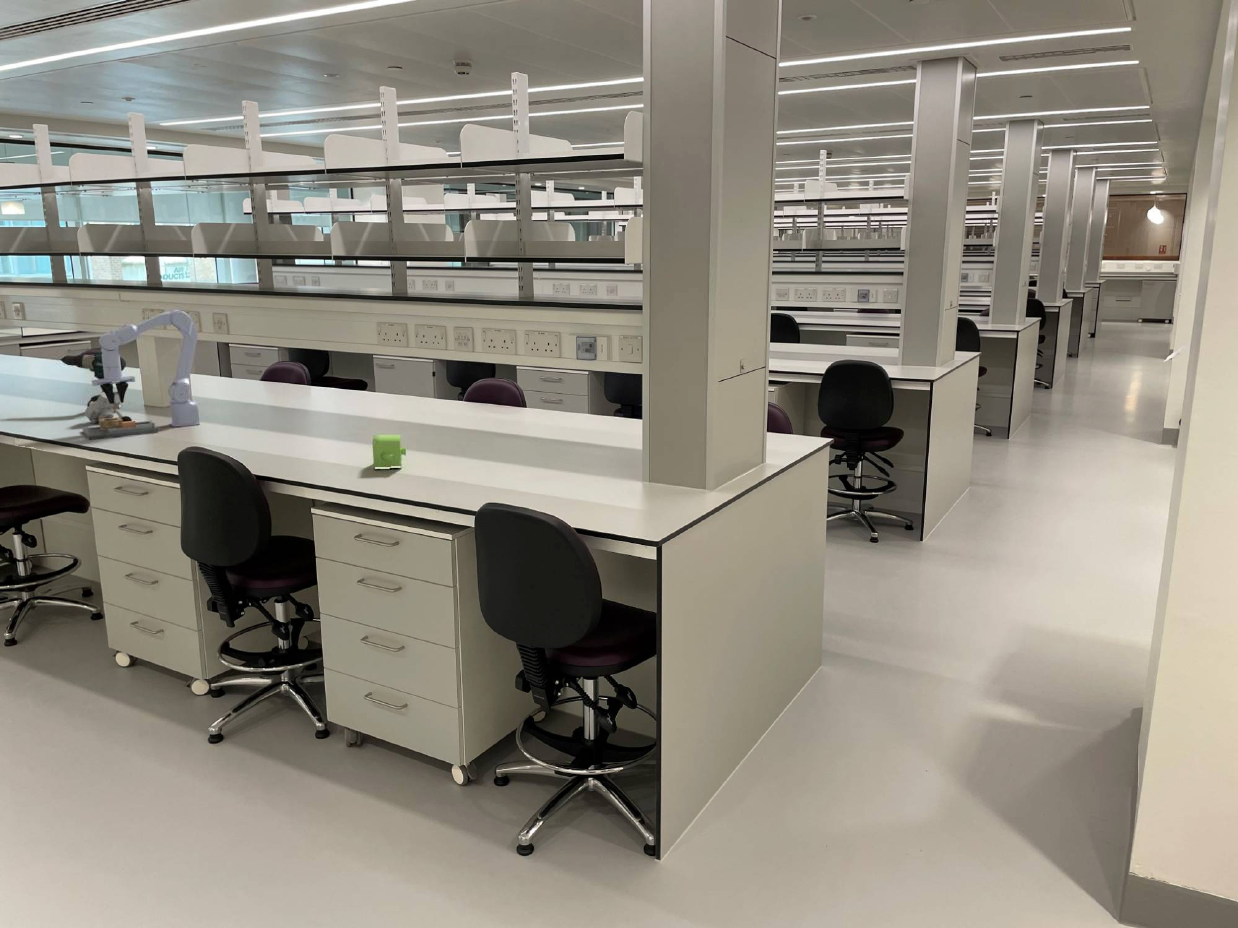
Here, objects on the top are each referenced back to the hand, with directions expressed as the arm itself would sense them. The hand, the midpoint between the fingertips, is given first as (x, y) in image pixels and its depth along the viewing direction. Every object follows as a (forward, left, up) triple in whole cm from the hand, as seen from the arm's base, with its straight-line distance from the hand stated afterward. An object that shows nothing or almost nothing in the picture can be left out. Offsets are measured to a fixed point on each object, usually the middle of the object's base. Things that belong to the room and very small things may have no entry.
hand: (116, 403), depth 326 cm
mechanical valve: (0, -16, -11) cm, 19 cm away
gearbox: (-62, +108, -11) cm, 125 cm away
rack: (+2, -2, -9) cm, 10 cm away
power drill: (+1, -46, -11) cm, 47 cm away
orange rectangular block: (-3, +4, -9) cm, 11 cm away
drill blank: (0, 0, -2) cm, 2 cm away
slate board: (0, +3, -11) cm, 11 cm away
